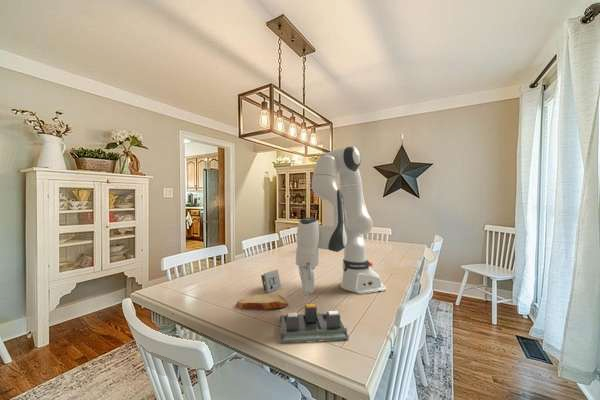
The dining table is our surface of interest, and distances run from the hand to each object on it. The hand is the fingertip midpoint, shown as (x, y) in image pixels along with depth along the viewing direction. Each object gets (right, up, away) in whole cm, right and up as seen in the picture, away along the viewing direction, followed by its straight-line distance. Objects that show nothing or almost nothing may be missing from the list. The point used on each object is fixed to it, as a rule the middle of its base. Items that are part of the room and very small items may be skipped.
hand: (305, 294), depth 94 cm
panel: (+2, -8, -9) cm, 13 cm away
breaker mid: (+2, -7, -6) cm, 9 cm away
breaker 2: (+9, -7, -12) cm, 16 cm away
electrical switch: (-17, -8, +26) cm, 32 cm away
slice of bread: (-18, -8, +9) cm, 22 cm away
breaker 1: (-5, -7, -13) cm, 15 cm away
